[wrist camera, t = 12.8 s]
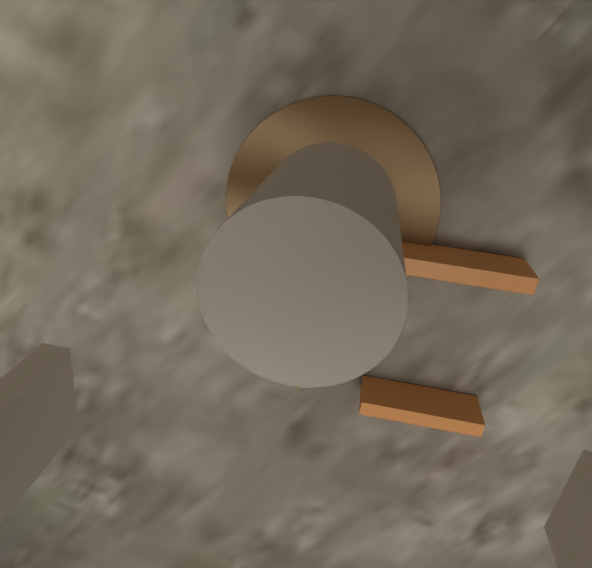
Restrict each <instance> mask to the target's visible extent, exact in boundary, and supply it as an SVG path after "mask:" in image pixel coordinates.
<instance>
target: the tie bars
mask: <svg viewBox="0 0 592 568" xmlns="http://www.w3.org/2000/svg"><path fill="white" fill-rule="evenodd" d="M402 246H403V254H404V262H405V269H406V275H411V276H417V277H423V278H429V279H436V280H442V281H448V282H454V283H461V284H467V285H473V286H479V287H485V288H492V289H498V290H504V291H510V292H517V293H523V294H529V295H534V292H535V290H536V287H537V284H538V281H539V278H538V277H537V275H536V274H535V272H534V271H533V270H532V268H531V267H530V266H529V264H528V263H527V262H526V260H525V259H524V258H517V257H511V256H504V255H498V254H491V253H485V252H478V251H472V250H465V249H459V248H452V247H446V246H439V245H433V244H432V245H431V246H425V245H419V244H412V243H406V242H402ZM359 414H362V415H367V416H372V417H378V418H383V419H388V420H394V421H399V422H404V423H409V424H415V425H420V426H425V427H430V428H436V429H441V430H446V431H452V432H457V433H462V434H467V435H473V436H478V437H481V436H482V433H483V430H484V428H485V423H484V419H483V416H482V412H481V409H480V406H479V402H478V399H477V396H474V395H469V394H463V393H458V392H452V391H447V390H441V389H436V388H430V387H425V386H419V385H414V384H408V383H403V382H397V381H392V380H386V379H381V378H375V377H370V376H364V375H363V377H362V382H361V388H360V407H359Z"/></svg>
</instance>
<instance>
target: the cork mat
mask: <svg viewBox="0 0 592 568" xmlns="http://www.w3.org/2000/svg"><path fill="white" fill-rule="evenodd" d="M323 142H335V143H342V144H347V145H350V146H353V147H356V148H358V149H360V150H362V151H364V152H365V153H367V154H368V155H370V156H371V157H372V158H374V159H375V160H376V161H377V162H378V163H379V164H380V165H381V166H382V168H383V169H384V170H385V172H386V173H387V175H388V176H389V178H390V180H391V182H392V185H393V187H394V190H395V194H396V200H397V207H398V215H399V223H400V231H401V238H402V242H406V243H412V244H419V245H425V246H431V245H432V243H433V241H434V238H435V234H436V231H437V228H438V224H439V218H440V209H441V195H440V185H439V181H438V177H437V173H436V170H435V167H434V165H433V162H432V160H431V157H430V155H429V153H428V152H427V150H426V148H425V147H424V145H423V143H422V142H421V140H420V139H419V138H418V137H417V135H416V134H415V133H414V132H413V130H411V129H410V128H409V127H408V126H407V125H406V124H405V123H404V122H403V121H402V120H401V119H399V118H398V117H396V116H395V115H394V114H392V113H391V112H389V111H388V110H386V109H384V108H382V107H380V106H378V105H376V104H373V103H370V102H367V101H365V100H362V99H357V98H352V97H347V96H320V97H313V98H309V99H305V100H301V101H298V102H295V103H293V104H290V105H288V106H286V107H284V108H282V109H280V110H278V111H277V112H275V113H273V114H272V115H270V116H269V117H268V118H266V119H265V120H264V121H262V122H261V123H260V124H259V125H258V126H257V127H256V128H255V129H254V130H253V131H252V132H251V133H250V135H249V136H248V137H247V139H246V140H245V141H244V143H243V144H242V146H241V148H240V149H239V151H238V153H237V155H236V157H235V159H234V162H233V164H232V167H231V170H230V174H229V178H228V182H227V191H226V210H227V216H228V218H229V217H230V216H231V215H232V214H233V213H234V211H235V210H236V209H237V208H238V207H239V206H240V205H241V204H242V203H243V202H244V201H245V200H246V199H247V198H248V197H249V196H250V195H251V194H252V193H253V191H254V190H255V189H256V188H257V187H258V186H259V185H260V184H261V183H262V182H263V181H264V180H265V179H266V178H267V177H268V176H269V175H270V174H271V172H272V171H273V170H274V169H275V168H276V167H277V166H278V165H279V164H280V163H281V162H282V161H283V160H284V159H285V158H286V157H288V156H289V155H290V154H292V153H293V152H295V151H297V150H299V149H301V148H303V147H305V146H308V145H312V144H316V143H323ZM409 276H410V275H406V277H407V278H408V277H409Z"/></svg>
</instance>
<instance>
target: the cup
mask: <svg viewBox="0 0 592 568" xmlns="http://www.w3.org/2000/svg"><path fill="white" fill-rule="evenodd" d="M197 294H198V301H199V306H200V309H201V313H202V316H203V318H204V321H205V323H206V325H207V327H208V329H209V331H210V332H211V334H212V336H213V337H214V339H215V340H216V341H217V343H218V344H219V345H220V346H221V348H222V349H223V350H224V351H225V352H226V353H227V354H228V355H229V356H230V357H231V358H232V359H234V360H235V361H236V362H237V363H239V364H240V365H241V366H243V367H244V368H246V369H247V370H249V371H251V372H252V373H254V374H256V375H258V376H260V377H263V378H265V379H267V380H270V381H273V382H276V383H280V384H284V385H288V386H294V387H306V388H315V387H326V386H332V385H337V384H341V383H344V382H347V381H350V380H352V379H355V378H357V377H359V376H361V375H363V374H364V373H366V372H368V371H369V370H371V369H372V368H374V367H375V366H376V365H377V364H379V363H380V362H381V361H382V360H383V359H384V358H385V357H386V356H387V355H388V353H389V352H390V351H391V350H392V348H393V347H394V345H395V344H396V342H397V341H398V339H399V337H400V335H401V333H402V330H403V328H404V325H405V321H406V317H407V312H408V299H409V296H408V285H407V277H406V269H405V262H404V254H403V246H402V238H401V231H400V223H399V215H398V207H397V200H396V194H395V190H394V187H393V185H392V182H391V180H390V178H389V176H388V175H387V173H386V172H385V170H384V169H383V168H382V166H381V165H380V164H379V163H378V162H377V161H376V160H375V159H374V158H372V157H371V156H370V155H368V154H367V153H365V152H364V151H362V150H360V149H358V148H356V147H353V146H350V145H347V144H342V143H335V142H323V143H316V144H312V145H308V146H305V147H303V148H301V149H299V150H297V151H295V152H293V153H292V154H290V155H289V156H288V157H286V158H285V159H284V160H283V161H282V162H281V163H280V164H279V165H278V166H277V167H276V168H275V169H274V170H273V171H272V172H271V174H270V175H269V176H268V177H267V178H266V179H265V180H264V181H263V182H262V183H261V184H260V185H259V186H258V187H257V188H256V189H255V190H254V191H253V193H252V194H251V195H250V196H249V197H248V198H247V199H246V200H245V201H244V202H243V203H242V204H241V205H240V206H239V207H238V208H237V209H236V210H235V211H234V213H233V214H232V215H231V216H230V217H229V218H228V219H227V220H226V221H225V222H224V223H223V224H222V225H221V226H220V227H219V228H218V230H217V231H216V232H215V233H214V235H213V236H212V238H211V239H210V240H209V242H208V244H207V246H206V248H205V250H204V252H203V255H202V258H201V260H200V264H199V269H198V275H197Z"/></svg>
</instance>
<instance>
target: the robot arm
mask: <svg viewBox="0 0 592 568" xmlns="http://www.w3.org/2000/svg"><path fill="white" fill-rule="evenodd" d="M78 428H79V423H78V415H77V406H76V398H75V389H74V381H73V372H72V364H71V355H70V348H65V347H60V346H55V345H50V344H45V343H42V344H41V345H40V346H39V347H38V348H36V349H35V350H34V351H33V352H32V353H30V354H29V355H28V356H27V357H26V358H24V359H23V360H22V361H21V362H20V363H18V364H17V365H16V366H15V367H14V368H12V369H11V370H10V371H9V372H8V373H6V374H5V375H4V376H3V377H2V378H0V522H1V521H2V520H3V518H4V517H5V516H6V515H7V514H8V512H9V511H10V510H11V509H12V508H13V506H14V505H15V504H16V503H17V502H18V500H19V499H20V498H21V497H22V495H23V494H24V493H25V492H26V491H27V489H28V488H29V487H30V486H31V485H32V483H33V482H34V481H35V480H36V479H37V477H38V476H39V475H40V474H41V472H42V471H43V470H44V469H45V468H46V466H47V465H48V464H49V463H50V462H51V460H52V459H53V458H54V457H55V456H56V454H57V453H58V452H59V451H60V449H61V448H62V447H63V446H64V445H65V443H66V442H67V441H68V440H69V439H70V437H71V436H72V435H73V434H74V433H75V431H76V430H77V429H78ZM544 528H545V531H546V534H547V537H548V539H549V542H550V545H551V548H552V551H553V554H554V557H555V560H556V563H557V565H558V568H592V451H587V450H583V452H582V454H581V456H580V458H579V460H578V462H577V464H576V466H575V468H574V469H573V471H572V473H571V475H570V477H569V479H568V481H567V483H566V485H565V487H564V489H563V491H562V493H561V495H560V497H559V499H558V501H557V503H556V505H555V507H554V509H553V510H552V512H551V514H550V516H549V518H548V520H547V522H546V524H545V526H544Z"/></svg>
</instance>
